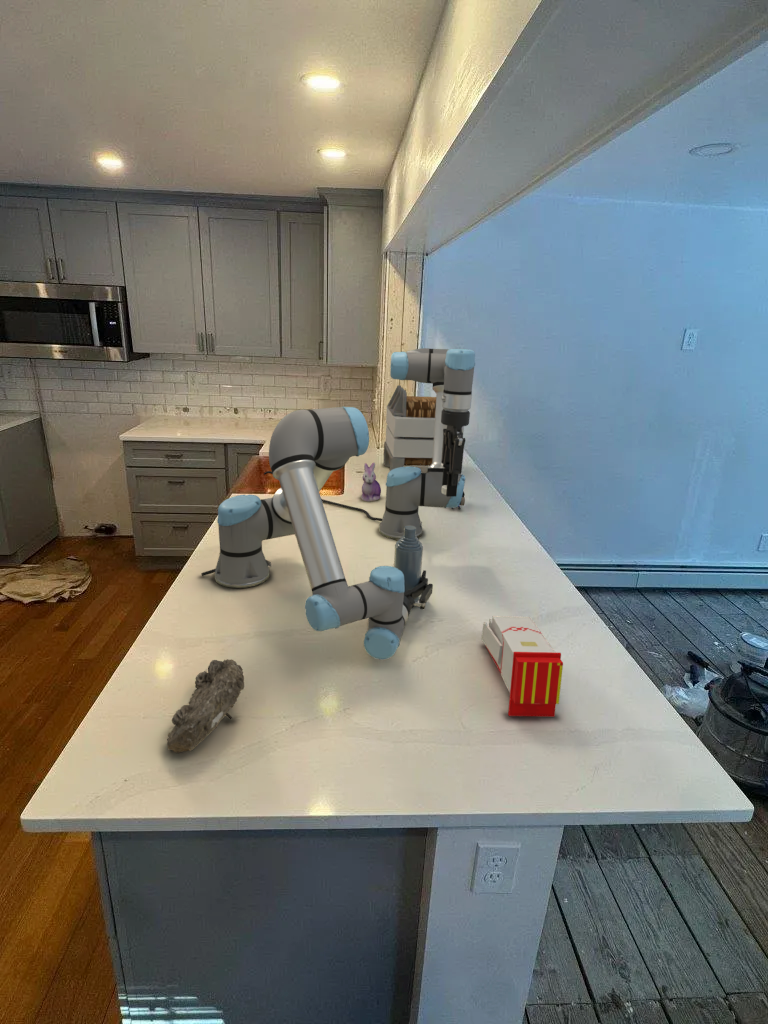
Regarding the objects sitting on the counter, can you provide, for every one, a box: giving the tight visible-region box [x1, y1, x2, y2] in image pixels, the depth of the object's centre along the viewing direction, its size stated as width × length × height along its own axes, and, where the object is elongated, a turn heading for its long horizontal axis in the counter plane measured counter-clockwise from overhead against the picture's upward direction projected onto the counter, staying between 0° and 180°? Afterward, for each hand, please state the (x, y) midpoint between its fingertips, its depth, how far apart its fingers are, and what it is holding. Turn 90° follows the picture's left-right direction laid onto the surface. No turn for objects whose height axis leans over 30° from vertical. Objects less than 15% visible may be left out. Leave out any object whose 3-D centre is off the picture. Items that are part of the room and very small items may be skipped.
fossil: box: [166, 658, 245, 754], centre depth 106 cm, size 22×10×15 cm
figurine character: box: [451, 490, 466, 510], centre depth 230 cm, size 7×8×15 cm
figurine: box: [360, 462, 382, 502], centre depth 233 cm, size 9×10×15 cm
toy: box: [481, 615, 564, 718], centre depth 123 cm, size 12×13×30 cm
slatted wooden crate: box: [383, 384, 465, 472], centre depth 268 cm, size 34×33×41 cm
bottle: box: [393, 526, 424, 601], centre depth 151 cm, size 7×7×21 cm
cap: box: [441, 485, 447, 495], centre depth 158 cm, size 4×4×2 cm
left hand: (409, 572), depth 157 cm, fingers closed on bottle, 7 cm apart
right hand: (448, 493), depth 158 cm, fingers closed on cap, 4 cm apart
